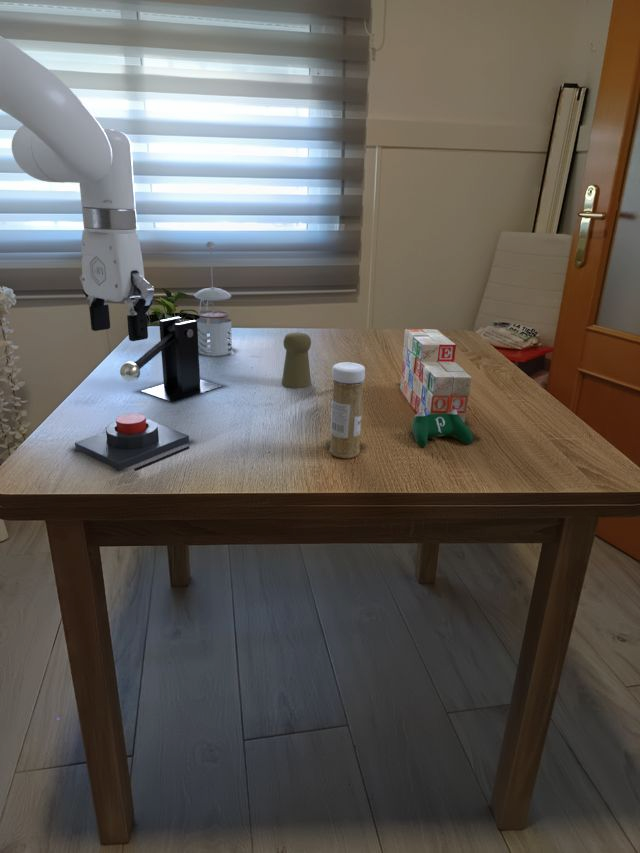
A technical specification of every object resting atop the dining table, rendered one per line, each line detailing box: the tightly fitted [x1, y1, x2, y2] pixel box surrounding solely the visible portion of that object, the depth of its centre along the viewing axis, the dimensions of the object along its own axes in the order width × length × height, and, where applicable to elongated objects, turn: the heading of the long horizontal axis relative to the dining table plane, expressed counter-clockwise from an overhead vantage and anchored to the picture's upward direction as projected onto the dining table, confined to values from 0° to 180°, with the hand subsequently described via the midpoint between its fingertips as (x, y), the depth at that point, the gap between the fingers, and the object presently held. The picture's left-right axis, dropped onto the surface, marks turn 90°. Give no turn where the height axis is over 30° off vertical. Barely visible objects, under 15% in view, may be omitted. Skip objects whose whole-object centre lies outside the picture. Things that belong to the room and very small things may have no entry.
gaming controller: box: [412, 410, 474, 448], centre depth 90 cm, size 9×4×6 cm
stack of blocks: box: [400, 328, 472, 423], centre depth 102 cm, size 21×6×12 cm, turn 5°
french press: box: [193, 241, 237, 357], centre depth 127 cm, size 10×12×25 cm
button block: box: [74, 418, 190, 472], centre depth 82 cm, size 12×10×4 cm
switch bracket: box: [139, 316, 223, 404], centre depth 104 cm, size 12×9×14 cm
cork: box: [281, 331, 312, 390], centre depth 109 cm, size 6×6×11 cm
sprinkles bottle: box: [329, 361, 366, 459], centre depth 83 cm, size 5×5×13 cm
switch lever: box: [119, 320, 186, 382], centre depth 99 cm, size 15×3×3 cm, turn 144°
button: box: [115, 412, 147, 434], centre depth 81 cm, size 4×4×2 cm
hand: (119, 334), depth 92 cm, fingers open, 9 cm apart
